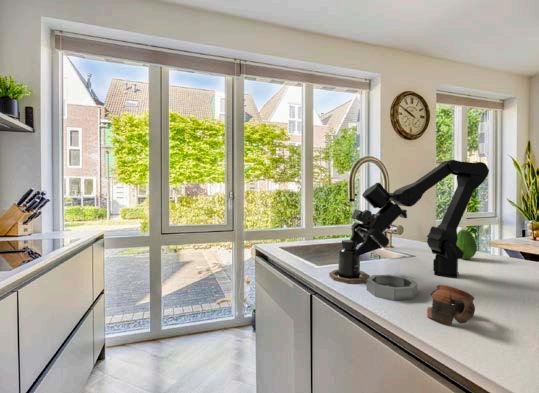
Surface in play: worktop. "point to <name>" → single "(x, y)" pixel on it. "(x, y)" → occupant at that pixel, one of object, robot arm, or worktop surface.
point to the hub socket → (400, 291)
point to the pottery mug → (444, 308)
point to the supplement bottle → (349, 260)
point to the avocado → (466, 244)
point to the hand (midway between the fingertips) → (350, 252)
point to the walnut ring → (345, 280)
